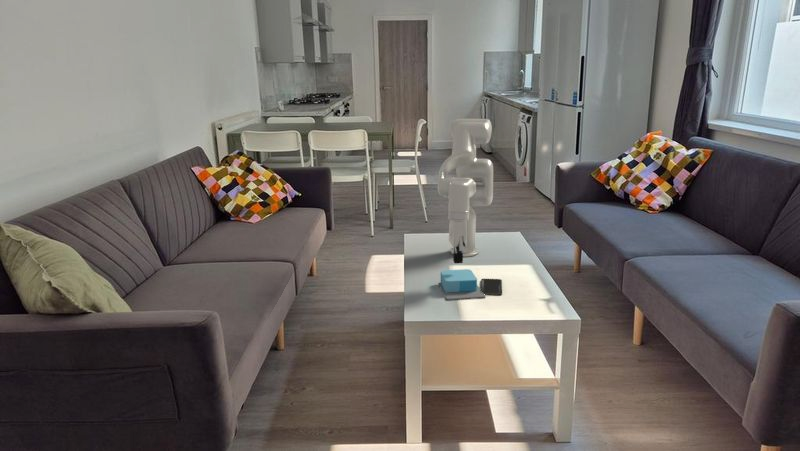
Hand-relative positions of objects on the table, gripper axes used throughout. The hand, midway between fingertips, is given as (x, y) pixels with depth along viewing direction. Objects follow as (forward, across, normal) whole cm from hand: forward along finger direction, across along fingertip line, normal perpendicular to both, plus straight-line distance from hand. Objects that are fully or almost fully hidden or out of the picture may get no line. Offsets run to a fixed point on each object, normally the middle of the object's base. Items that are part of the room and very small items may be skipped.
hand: (458, 262), depth 204 cm
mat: (+9, +5, 0) cm, 11 cm away
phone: (+10, +4, +12) cm, 16 cm away
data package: (+6, -4, 0) cm, 8 cm away
